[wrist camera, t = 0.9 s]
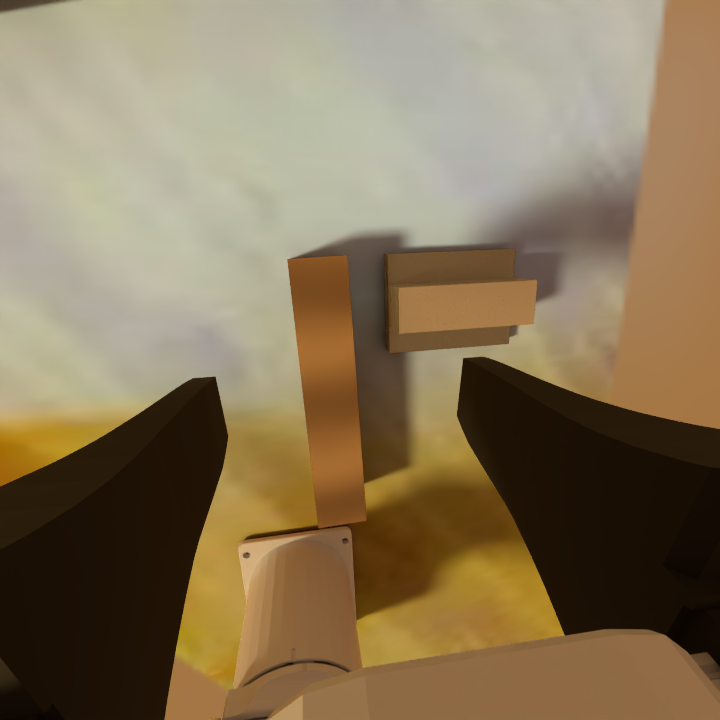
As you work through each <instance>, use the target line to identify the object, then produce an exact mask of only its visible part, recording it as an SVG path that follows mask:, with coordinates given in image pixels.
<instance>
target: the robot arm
mask: <svg viewBox="0 0 720 720" xmlns="http://www.w3.org/2000/svg"><path fill="white" fill-rule="evenodd" d="M457 417H458V420H459V422H460V425H461V427H462V430H463V432H464V434H465V436H466V439H467V441H468V443H469V445H470V446H471V448H472V450H473V452H474V453H475V455H476V457H477V458H478V460H479V462H480V463H481V465H482V466H483V468H484V470H485V471H486V473H487V475H488V476H489V478H490V479H491V481H492V483H493V484H494V486H495V487H496V489H497V491H498V492H499V494H500V496H501V497H502V499H503V500H504V502H505V504H506V506H507V507H508V509H509V511H510V513H511V515H512V516H513V518H514V520H515V522H516V525H517V527H518V529H519V531H520V533H521V535H522V537H523V539H524V541H525V543H526V546H527V548H528V550H529V552H530V554H531V556H532V559H533V561H534V563H535V565H536V568H537V570H538V572H539V574H540V577H541V579H542V581H543V583H544V586H545V588H546V591H547V593H548V595H549V598H550V600H551V603H552V605H553V608H554V610H555V612H556V615H557V617H558V620H559V622H560V625H561V627H562V630H563V632H564V635H565V636H560V637H554V638H547V639H541V640H535V641H529V642H522V643H516V644H510V645H504V646H497V647H491V648H485V649H478V650H472V651H466V652H460V653H453V654H447V655H441V656H435V657H428V658H422V659H416V660H410V661H403V662H397V663H391V664H385V665H378V666H372V667H366V668H362V661H361V655H360V648H359V641H358V634H357V627H356V625H357V621H356V603H355V585H354V568H353V550H352V533H351V529H350V528H349V527H347V526H343V527H336V528H328V529H321V530H314V531H307V532H300V533H292V534H285V535H278V536H271V537H264V538H256V539H249V540H244V541H242V542H240V544H239V548H238V551H239V558H240V564H241V570H242V577H243V583H244V589H245V596H246V602H247V603H246V609H245V615H244V622H243V628H242V634H241V640H240V647H239V653H238V659H237V665H236V672H235V678H234V684H233V689H230V690H228V691H227V695H226V701H225V707H224V712H223V718H222V720H720V429H716V428H710V427H704V426H699V425H693V424H688V423H683V422H678V421H674V420H669V419H665V418H660V417H656V416H651V415H648V414H643V413H639V412H636V411H632V410H628V409H624V408H620V407H617V406H614V405H611V404H607V403H604V402H601V401H597V400H594V399H591V398H588V397H585V396H582V395H580V394H577V393H574V392H572V391H569V390H566V389H564V388H561V387H558V386H556V385H553V384H551V383H548V382H546V381H543V380H541V379H538V378H536V377H534V376H531V375H529V374H527V373H524V372H522V371H520V370H517V369H515V368H512V367H510V366H508V365H505V364H503V363H500V362H498V361H495V360H492V359H489V358H486V357H474V358H463V366H462V374H461V383H460V392H459V401H458V410H457ZM227 441H228V433H227V428H226V424H225V419H224V414H223V410H222V405H221V400H220V396H219V391H218V386H217V382H216V377H205V378H193V379H191V380H189V381H187V382H185V383H184V384H182V385H181V386H179V387H178V388H176V389H175V390H173V391H172V392H170V393H169V394H167V395H166V396H164V397H163V398H161V399H160V400H158V401H157V402H156V403H154V404H153V405H151V406H150V407H148V408H147V409H145V410H144V411H142V412H141V413H139V414H138V415H136V416H135V417H133V418H131V419H130V420H128V421H127V422H125V423H123V424H122V425H120V426H119V427H117V428H115V429H114V430H112V431H111V432H109V433H108V434H106V435H104V436H102V437H101V438H99V439H97V440H96V441H94V442H92V443H90V444H88V445H87V446H85V447H83V448H81V449H79V450H77V451H75V452H73V453H71V454H69V455H68V456H66V457H64V458H62V459H60V460H58V461H56V462H54V463H52V464H49V465H47V466H45V467H43V468H41V469H38V470H36V471H34V472H32V473H29V474H27V475H25V476H23V477H21V478H18V479H16V480H14V481H12V482H10V483H7V484H5V485H3V486H1V487H0V720H164V718H165V711H166V705H167V698H168V692H169V686H170V680H171V674H172V668H173V663H174V657H175V651H176V645H177V640H178V635H179V629H180V624H181V619H182V614H183V609H184V604H185V598H186V594H187V589H188V584H189V580H190V575H191V570H192V566H193V561H194V557H195V553H196V549H197V546H198V542H199V539H200V536H201V533H202V530H203V527H204V524H205V521H206V518H207V515H208V512H209V509H210V506H211V503H212V499H213V496H214V493H215V490H216V487H217V484H218V481H219V478H220V475H221V472H222V468H223V464H224V459H225V453H226V447H227ZM344 538H347V540H342V539H344ZM245 552H248V553H250V554H245ZM208 720H221V719H219V718H210V719H208Z"/></svg>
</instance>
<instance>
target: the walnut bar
mask: <svg viewBox="0 0 720 720" xmlns="http://www.w3.org/2000/svg"><path fill="white" fill-rule="evenodd" d="M287 260H288V269H289V277H290V286H291V295H292V303H293V312H294V320H295V329H296V338H297V346H298V355H299V364H300V372H301V381H302V389H303V398H304V407H305V415H306V424H307V433H308V441H309V450H310V459H311V467H312V476H313V484H314V493H315V502H316V510H317V519H318V528H324V527H331V526H337V525H343V524H349V523H356V522H362V521H367V518H366V505H365V491H364V477H363V464H362V450H361V436H360V422H359V409H358V395H357V381H356V368H355V354H354V340H353V326H352V313H351V299H350V285H349V272H348V258H347V255H339V256H325V257H310V258H296V259H287Z"/></svg>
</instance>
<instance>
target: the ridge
mask: <svg viewBox="0 0 720 720" xmlns="http://www.w3.org/2000/svg"><path fill="white" fill-rule="evenodd" d="M514 261H515V249H492V250H469V251H446V252H422V253H399V254H384V271H385V316H386V350H387V351H388V352H389V353H398V352H411V351H424V350H436V349H449V348H462V347H474V346H487V345H500V344H509V333H510V326H513V325H527V324H534V313H535V302H536V290H537V280H531V279H521V278H513V276H514Z"/></svg>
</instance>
